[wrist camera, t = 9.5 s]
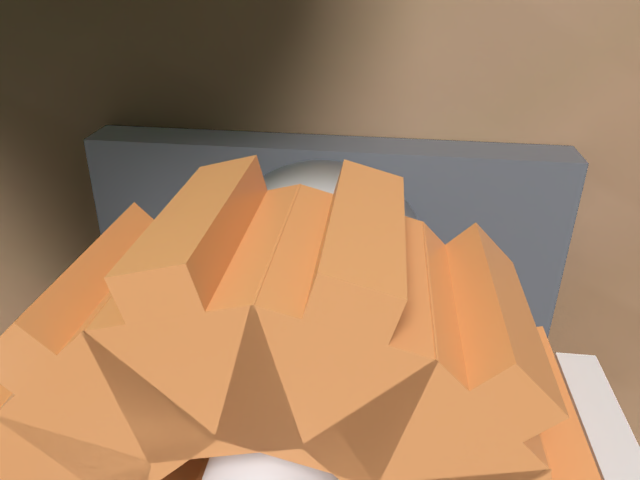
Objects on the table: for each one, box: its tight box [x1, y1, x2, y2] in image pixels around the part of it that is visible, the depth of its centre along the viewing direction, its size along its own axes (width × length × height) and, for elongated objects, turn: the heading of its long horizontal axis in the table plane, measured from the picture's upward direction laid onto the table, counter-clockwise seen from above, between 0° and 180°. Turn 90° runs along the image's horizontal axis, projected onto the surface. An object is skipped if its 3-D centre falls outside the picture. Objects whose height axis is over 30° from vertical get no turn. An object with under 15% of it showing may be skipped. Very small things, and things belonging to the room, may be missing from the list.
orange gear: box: [0, 155, 602, 480], centre depth 11 cm, size 10×10×4 cm
